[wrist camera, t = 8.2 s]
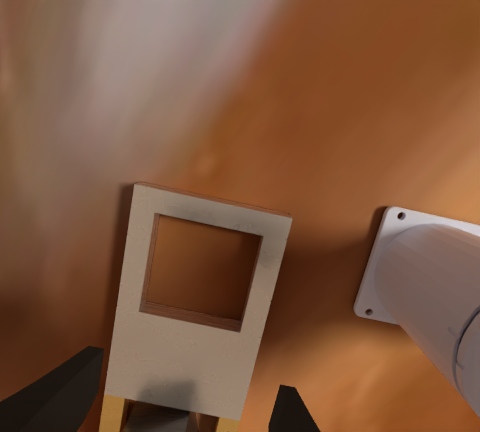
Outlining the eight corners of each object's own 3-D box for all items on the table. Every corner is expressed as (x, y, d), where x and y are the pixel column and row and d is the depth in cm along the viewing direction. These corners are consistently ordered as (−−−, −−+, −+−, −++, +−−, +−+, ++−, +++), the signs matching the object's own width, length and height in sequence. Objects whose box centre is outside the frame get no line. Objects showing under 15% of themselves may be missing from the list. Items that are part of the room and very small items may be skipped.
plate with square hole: (289, 213, 21) (292, 218, 19) (218, 488, 26) (216, 508, 24) (142, 181, 21) (134, 184, 19) (99, 465, 26) (91, 485, 24)
